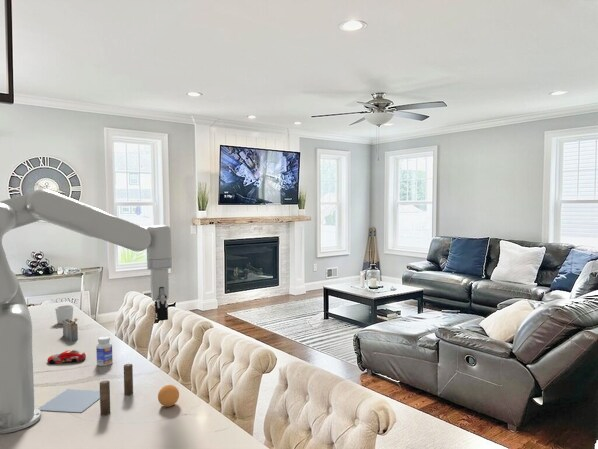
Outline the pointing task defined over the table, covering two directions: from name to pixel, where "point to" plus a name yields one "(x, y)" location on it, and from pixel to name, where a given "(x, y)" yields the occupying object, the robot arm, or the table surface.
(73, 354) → the race car
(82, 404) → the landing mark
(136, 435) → the table surface
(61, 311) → the cup
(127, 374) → the gate post right
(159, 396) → the ball
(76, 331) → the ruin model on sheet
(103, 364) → the pill bottle
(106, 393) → the gate post left
